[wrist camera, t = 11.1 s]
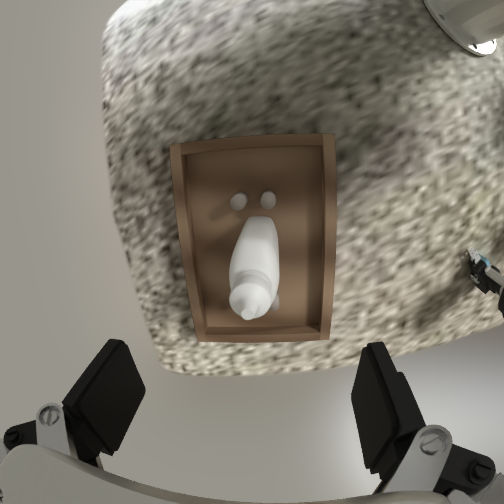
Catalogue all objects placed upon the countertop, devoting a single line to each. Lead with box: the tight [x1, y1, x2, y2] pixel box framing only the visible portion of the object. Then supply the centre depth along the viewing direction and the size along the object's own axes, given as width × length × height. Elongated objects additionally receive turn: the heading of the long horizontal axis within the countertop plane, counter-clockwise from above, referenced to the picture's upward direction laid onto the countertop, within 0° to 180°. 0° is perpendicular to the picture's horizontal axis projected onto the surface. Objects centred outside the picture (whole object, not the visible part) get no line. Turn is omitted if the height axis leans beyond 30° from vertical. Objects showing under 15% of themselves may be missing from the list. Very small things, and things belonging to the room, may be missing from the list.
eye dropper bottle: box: [229, 216, 279, 320], centre depth 20 cm, size 4×6×12 cm
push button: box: [469, 248, 504, 318], centre depth 21 cm, size 7×5×10 cm
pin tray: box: [169, 134, 337, 343], centre depth 25 cm, size 20×14×4 cm
